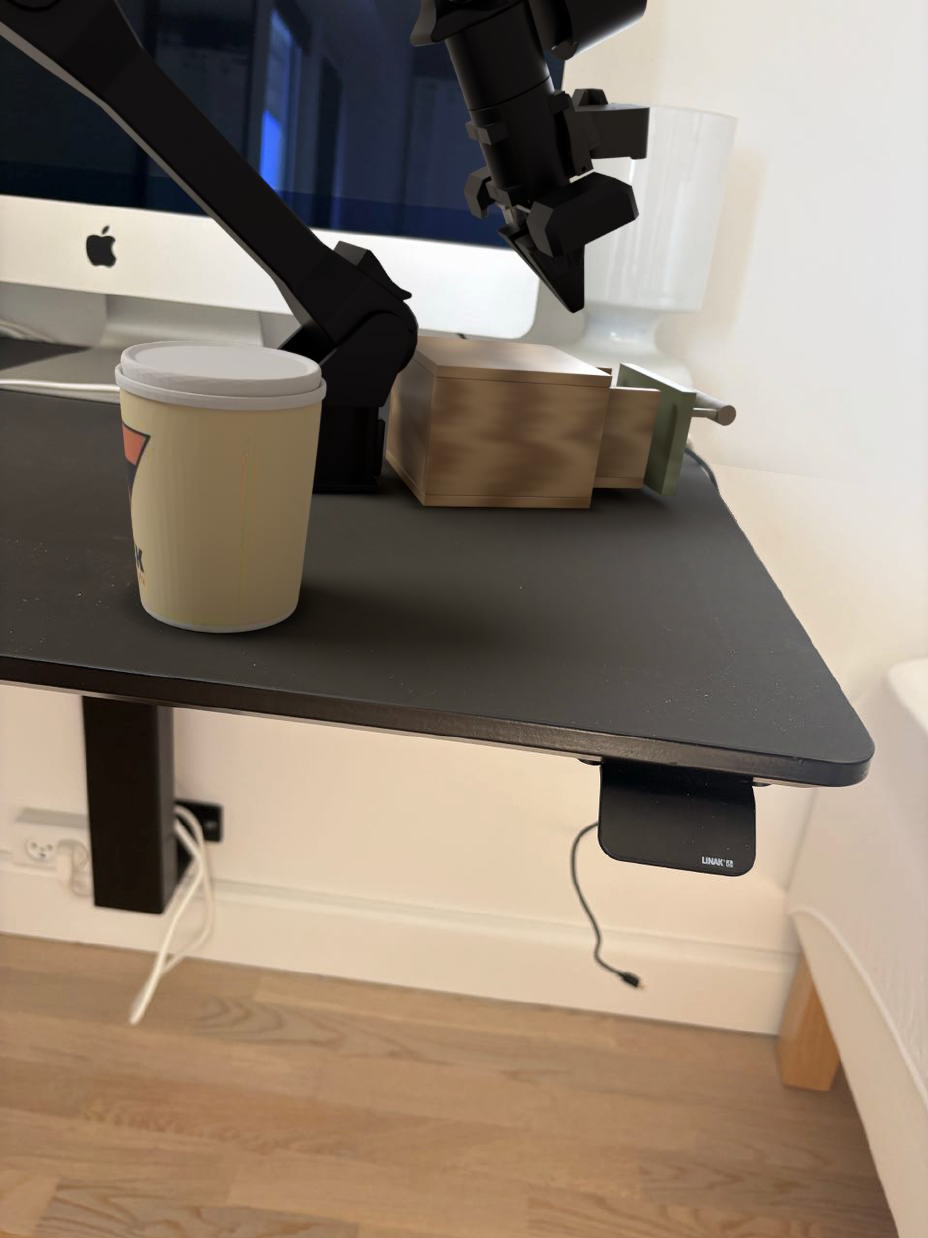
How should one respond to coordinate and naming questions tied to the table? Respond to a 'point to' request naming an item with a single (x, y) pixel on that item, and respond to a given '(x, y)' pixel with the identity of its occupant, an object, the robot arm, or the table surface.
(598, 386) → the cabinet
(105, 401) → the table surface
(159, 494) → the coffee cup
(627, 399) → the drawer
